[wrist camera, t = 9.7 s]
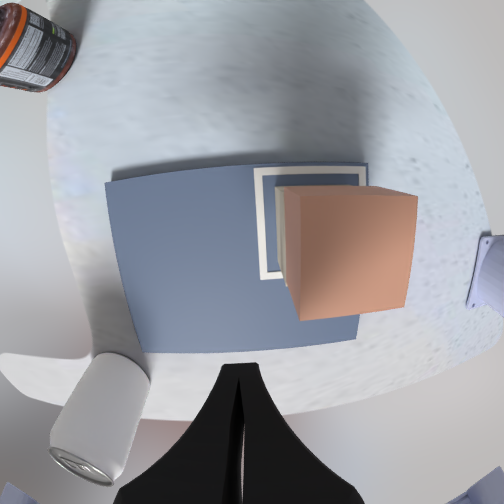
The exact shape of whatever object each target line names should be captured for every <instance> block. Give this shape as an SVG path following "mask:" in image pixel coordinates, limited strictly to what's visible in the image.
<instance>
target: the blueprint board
mask: <svg viewBox="0 0 504 504" xmlns="http://www.w3.org/2000/svg"><path fill="white" fill-rule="evenodd" d="M300 185H352V186H368V163H354V162H292V163H266V164H248V165H234V166H222V167H211V168H201V169H192V170H183V171H175V172H168V173H160V174H153V175H147V176H140V177H134V178H128V179H123V180H117V181H112V182H106V183H105V190H106V198H107V206H108V213H109V219H110V225H111V231H112V237H113V242H114V247H115V252H116V257H117V262H118V266H119V271H120V275H121V279H122V283H123V287H124V291H125V295H126V299H127V303H128V306H129V310H130V313H131V317H132V320H133V324H134V327H135V330H136V333H137V336H138V340H139V343H140V346H141V349H142V352H148V353H223V352H244V351H260V350H273V349H284V348H294V347H303V346H311V345H319V344H327V343H334V342H341V341H347V340H353V339H356V336H357V329H358V323H359V316H360V314H356V315H349V316H341V317H333V318H324V319H315V320H305V321H299V318H298V315H297V312H296V309H295V306H294V303H293V300H292V297H291V294H290V291H289V288H288V286H286V284H285V281H284V278H283V275H282V272H281V269H280V266H279V263H278V254H277V228H276V205H275V187H276V186H300Z"/></svg>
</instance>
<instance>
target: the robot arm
mask: <svg viewBox="0 0 504 504" xmlns="http://www.w3.org/2000/svg"><path fill="white" fill-rule="evenodd" d="M486 304H487V305H488V306H489V307H491V308H492V309H493V310H495V311H496V312H497V313H498V314H500V315H501V316H502V317H504V235H498V236H497V235H496V236H483V237H482V238H481V239H480V244H479V250H478V256H477V262H476V267H475V272H474V276H473V281H472V285H471V289H470V293H469V297H468V301H467V304H466V308H467V309H468V310H470V309H474V308H477V307H480V306H483V305H486ZM244 424H245V428H244ZM244 433H245V434H244ZM243 434H244V435H245V436H244V479H243V501H242V491H241V490H242V489H241V458H242V446H243ZM0 504H39V503H38V502H37V501H36V500H34V499H33V498H32V497H30V496H29V495H27V494H26V493H24V492H23V491H21V490H20V489H18V488H17V487H15V486H13V485H12V484H11V483H9V482H7V483H6V485H5V488H4V490H3V492H2V494H1V497H0ZM113 504H365V503H364V501H363V499H362V498H361V496H360V494H359V493H358V492H357V490H356V489H355V487H354V486H352V485H351V484H349V483H348V482H346V481H345V480H344V479H342V478H341V477H339V476H338V475H337V474H335V473H334V472H333V471H332V470H331V469H329V468H328V467H327V466H326V465H325V464H323V463H322V462H321V461H320V460H319V459H318V458H317V457H316V456H315V455H314V454H313V453H312V452H311V451H310V450H309V449H308V448H307V447H306V446H305V445H304V444H303V443H302V442H301V440H300V439H299V438H298V437H297V436H296V434H295V433H294V432H293V431H292V429H291V428H290V427H289V426H288V424H287V423H286V422H285V420H284V418H283V417H282V415H281V414H280V412H279V411H278V409H277V407H276V406H275V404H274V402H273V400H272V398H271V397H270V395H269V393H268V391H267V389H266V386H265V384H264V382H263V379H262V376H261V373H260V370H259V364H257V363H256V362H254V363H237V364H224V365H223V366H222V367H221V370H220V373H219V376H218V378H217V380H216V382H215V384H214V387H213V389H212V391H211V392H210V394H209V396H208V398H207V400H206V402H205V403H204V405H203V407H202V408H201V410H200V411H199V413H198V414H197V416H196V418H195V419H194V421H193V422H192V423H191V425H190V426H189V428H188V429H187V430H186V431H185V433H184V434H183V435H182V436H181V437H180V439H179V440H178V441H177V442H176V443H175V444H174V445H173V446H172V447H171V449H170V450H169V451H168V452H167V453H166V454H165V455H164V456H162V457H161V458H160V459H159V460H158V461H157V462H156V463H154V464H153V465H152V466H151V467H150V468H148V469H147V470H146V471H145V472H143V473H142V474H141V475H140V476H138V477H136V478H135V479H134V480H132V481H131V482H129V483H127V484H126V485H124V486H123V487H121V488H120V489H119V491H118V493H117V495H116V498H115V500H114V503H113ZM446 504H504V472H503V471H502V469H501V467H500V466H498V467H497V468H495V469H494V470H493V471H491V472H490V473H489V474H487V475H486V476H485V477H483V478H482V479H480V480H479V481H478V482H477V483H475V484H474V485H473V486H471V487H470V488H469V489H468V490H467V491H466V492H464V493H463V494H461V495H460V496H458V497H456V498H455V499H453V500H451V501H449V502H448V503H446Z"/></svg>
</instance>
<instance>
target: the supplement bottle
mask: <svg viewBox="0 0 504 504" xmlns="http://www.w3.org/2000/svg"><path fill="white" fill-rule="evenodd" d="M75 51H76V41H75V39H74V37H73V35H72V34H70V33H69V32H68V31H66V30H65V29H63V28H61V27H60V26H58V25H56V24H55V23H53V22H51V21H49V20H48V19H46V18H44V17H42V16H41V15H39V14H37V13H35V12H33V11H31V10H29V9H27V8H25V7H23V6H22V5H19V4H16V3H7V4H4V5H2V6H0V86H4V87H10V88H15V89H21V90H25V91H30V92H43V91H47V90H48V89H50V88H52V87H53V86H54V85H56V84H57V83H58V82H59V81H60V80H61V79H62V78H63V76H64V75H65V74H66V72H67V71H68V69H69V68H70V66H71V64H72V61H73V59H74V56H75Z"/></svg>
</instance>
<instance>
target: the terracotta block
mask: <svg viewBox="0 0 504 504" xmlns="http://www.w3.org/2000/svg"><path fill="white" fill-rule="evenodd" d="M284 203H285V241H286V283H287V285H288V288H289V291H290V294H291V297H292V300H293V303H294V306H295V309H296V312H297V315H298V318H299V321H305V320H315V319H324V318H333V317H341V316H349V315H356V314H363V313H370V312H377V311H383V310H390V309H396V308H401V307H404V305H405V300H406V295H407V289H408V284H409V278H410V272H411V265H412V258H413V250H414V241H415V231H416V219H417V204H418V196H414V195H411V194H407V193H403V192H399V191H394V190H390V189H386V188H382V187H377V186H292V187H284Z"/></svg>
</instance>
